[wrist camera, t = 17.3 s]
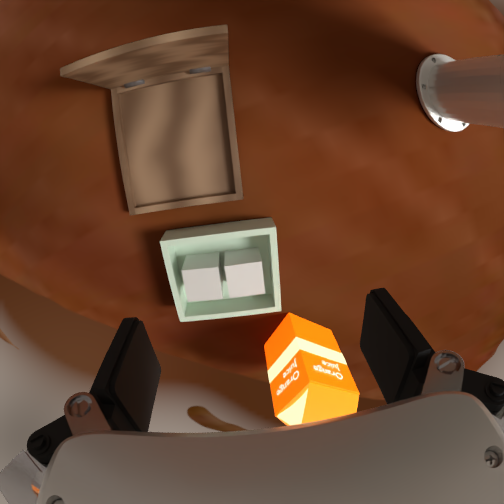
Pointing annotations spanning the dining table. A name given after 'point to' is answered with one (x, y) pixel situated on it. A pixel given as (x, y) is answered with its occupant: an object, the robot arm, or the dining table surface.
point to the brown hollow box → (171, 117)
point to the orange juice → (308, 373)
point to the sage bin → (220, 241)
